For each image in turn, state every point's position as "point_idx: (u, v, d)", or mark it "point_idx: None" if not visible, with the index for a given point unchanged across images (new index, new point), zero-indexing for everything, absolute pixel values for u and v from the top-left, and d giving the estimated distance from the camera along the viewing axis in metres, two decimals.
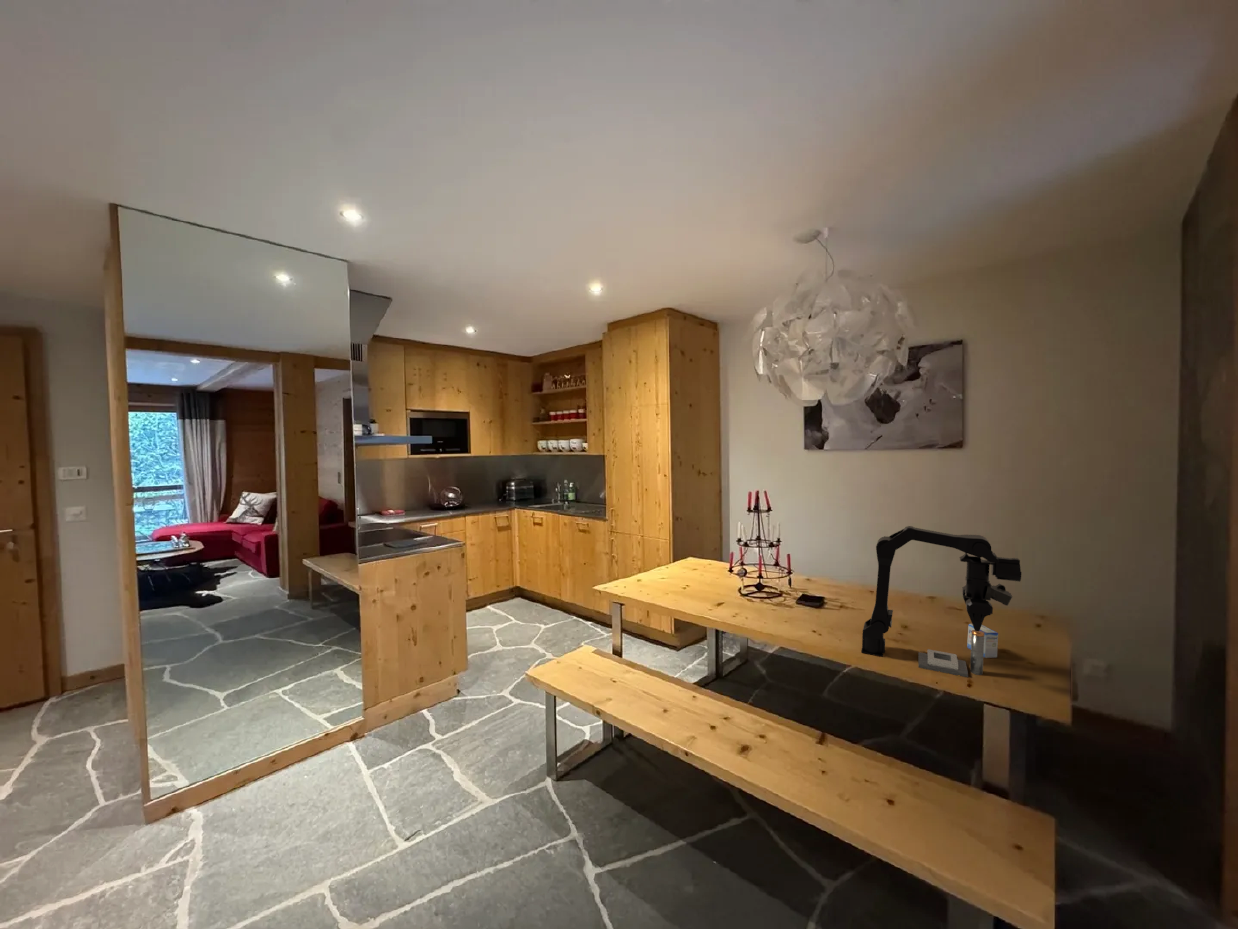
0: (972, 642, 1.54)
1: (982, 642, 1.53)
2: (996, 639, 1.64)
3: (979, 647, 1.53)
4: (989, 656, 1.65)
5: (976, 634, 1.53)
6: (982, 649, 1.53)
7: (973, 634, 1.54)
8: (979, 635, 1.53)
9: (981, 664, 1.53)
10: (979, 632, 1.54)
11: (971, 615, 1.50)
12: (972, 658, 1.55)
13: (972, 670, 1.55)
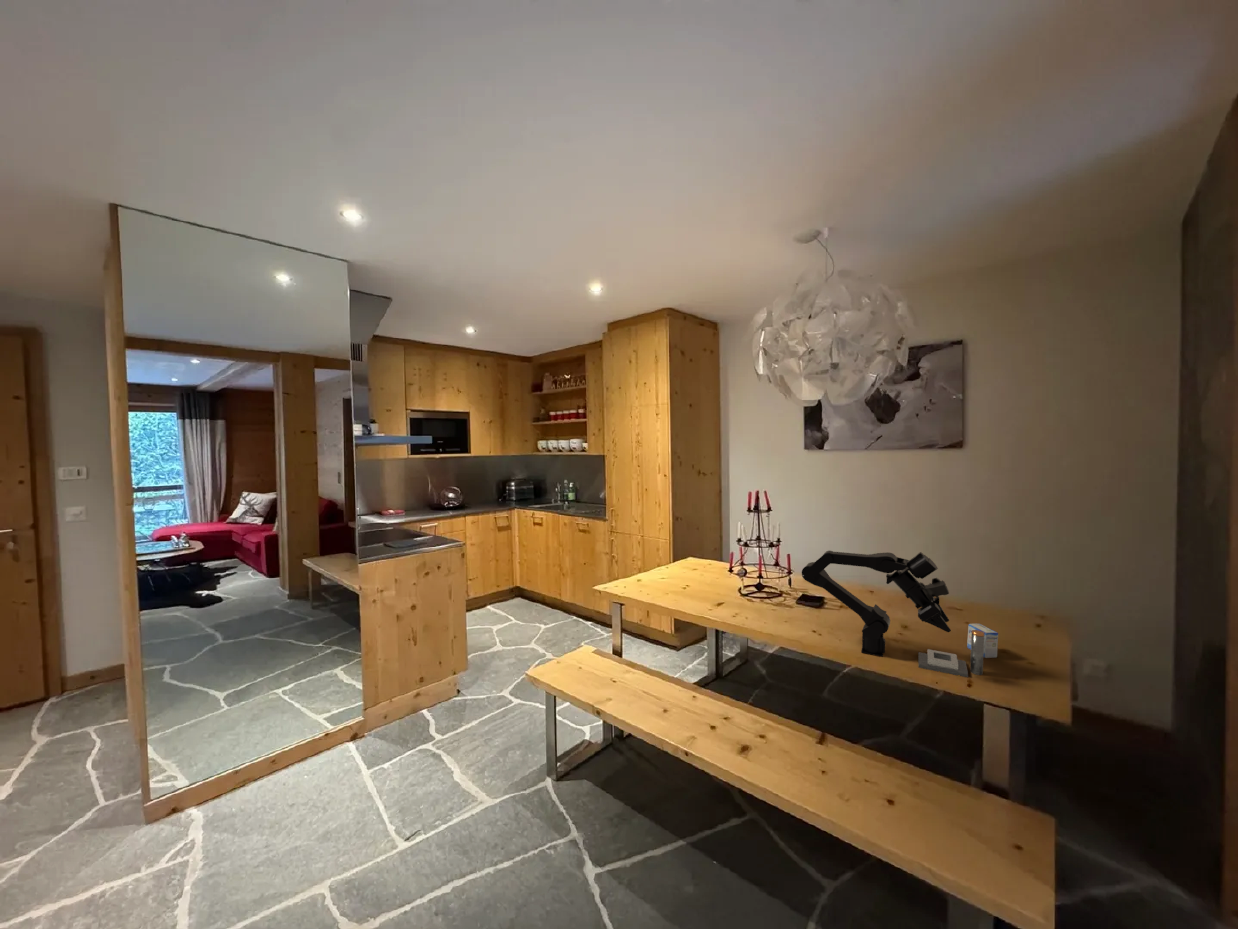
0: (972, 642, 1.54)
1: (982, 642, 1.53)
2: (996, 639, 1.64)
3: (979, 647, 1.53)
4: (989, 656, 1.65)
5: (976, 634, 1.53)
6: (982, 649, 1.53)
7: (973, 634, 1.54)
8: (979, 635, 1.53)
9: (981, 664, 1.53)
10: (979, 632, 1.54)
11: (931, 622, 1.55)
12: (972, 658, 1.55)
13: (972, 670, 1.55)
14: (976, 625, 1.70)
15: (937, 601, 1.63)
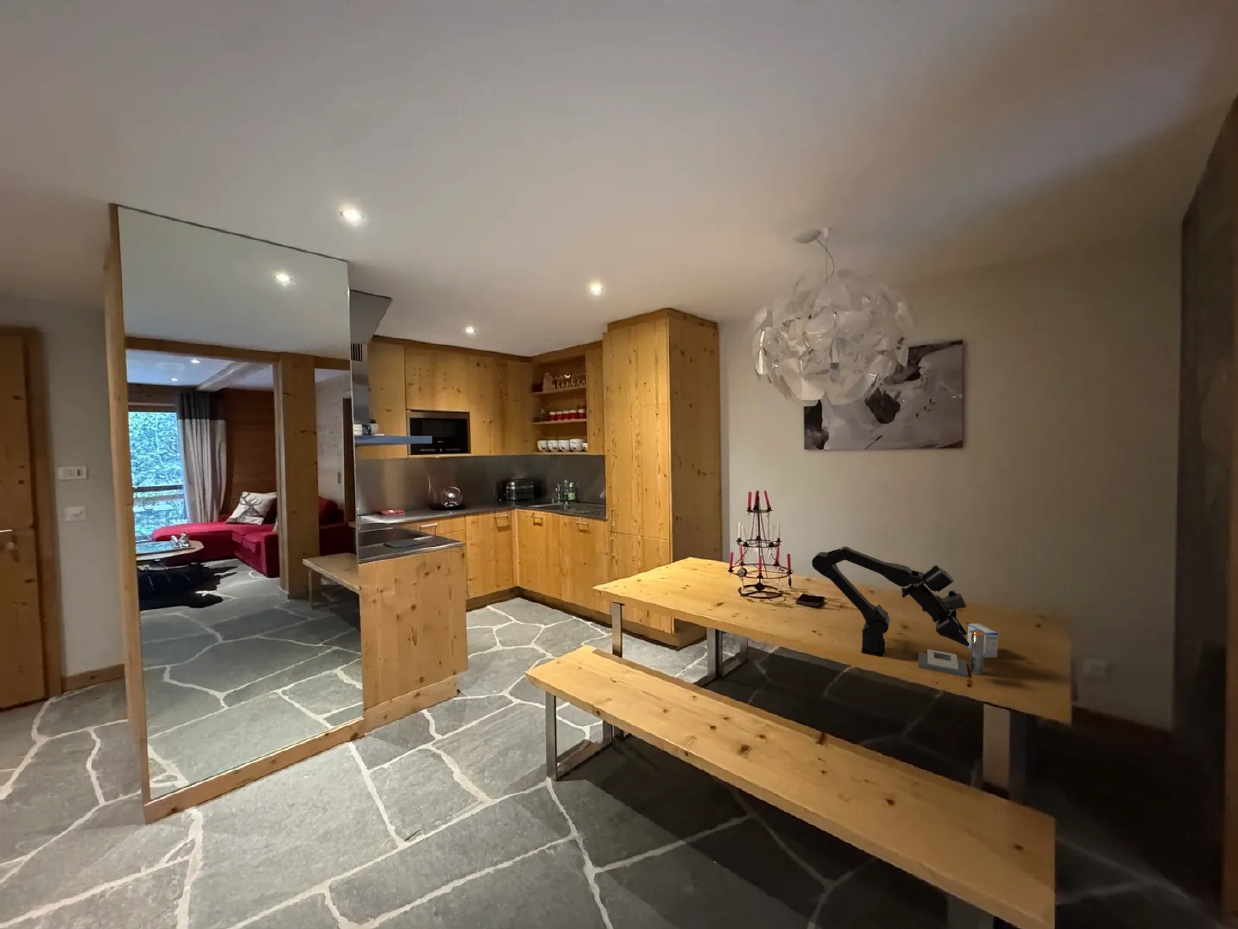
0: (972, 642, 1.54)
1: (982, 642, 1.53)
2: (996, 639, 1.64)
3: (978, 647, 1.53)
4: (989, 656, 1.65)
5: (976, 634, 1.53)
6: (982, 649, 1.53)
7: (973, 634, 1.54)
8: (979, 635, 1.53)
9: (981, 664, 1.53)
10: (979, 632, 1.54)
11: (950, 636, 1.53)
12: (972, 658, 1.55)
13: (972, 670, 1.55)
14: (976, 625, 1.70)
15: (954, 614, 1.61)
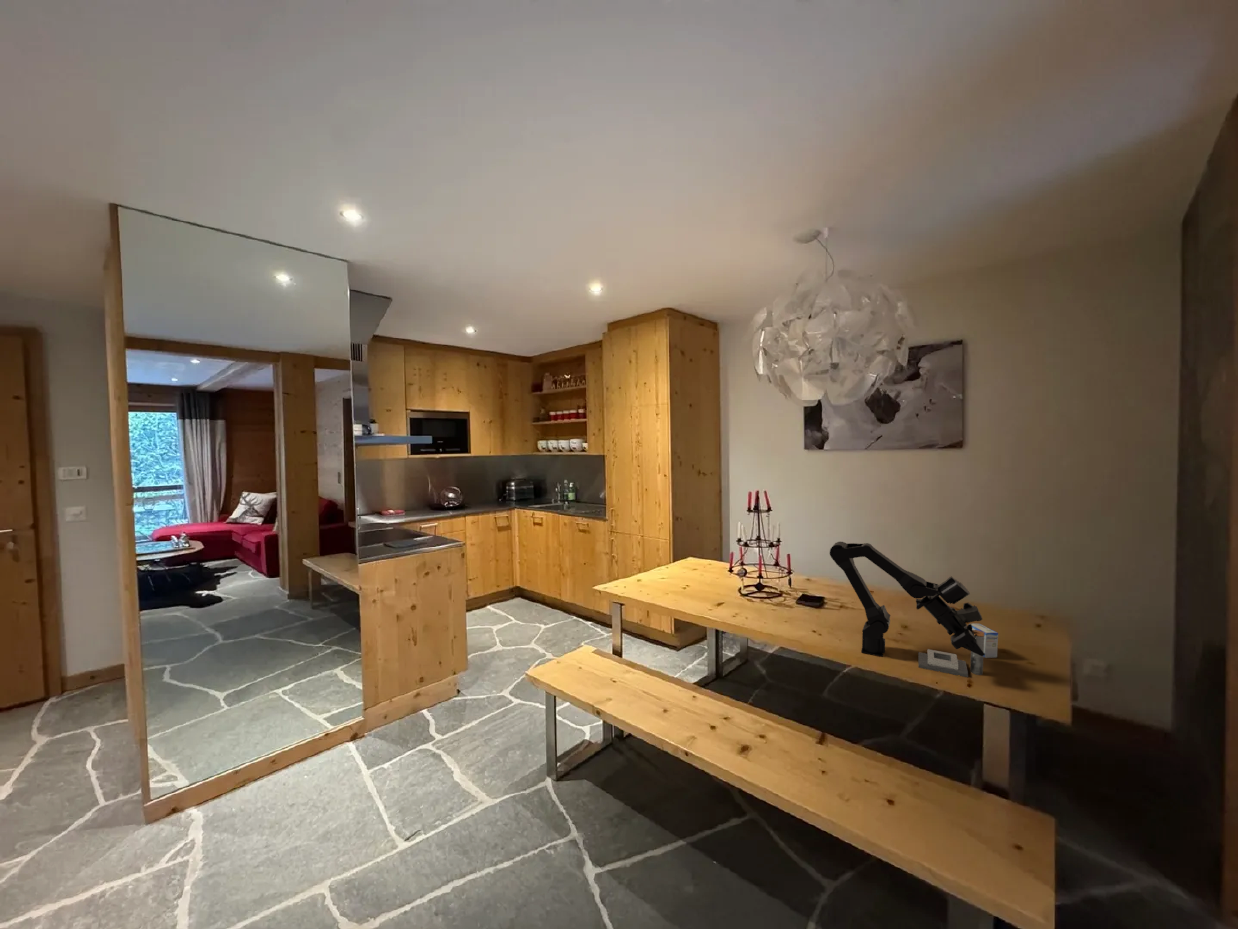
0: None
1: (982, 642, 1.53)
2: (996, 639, 1.64)
3: None
4: (989, 656, 1.65)
5: (976, 634, 1.53)
6: (982, 649, 1.53)
7: None
8: (979, 635, 1.53)
9: (981, 664, 1.53)
10: (979, 632, 1.54)
11: (965, 646, 1.53)
12: (972, 658, 1.55)
13: (972, 670, 1.55)
14: (976, 625, 1.70)
15: (970, 629, 1.57)
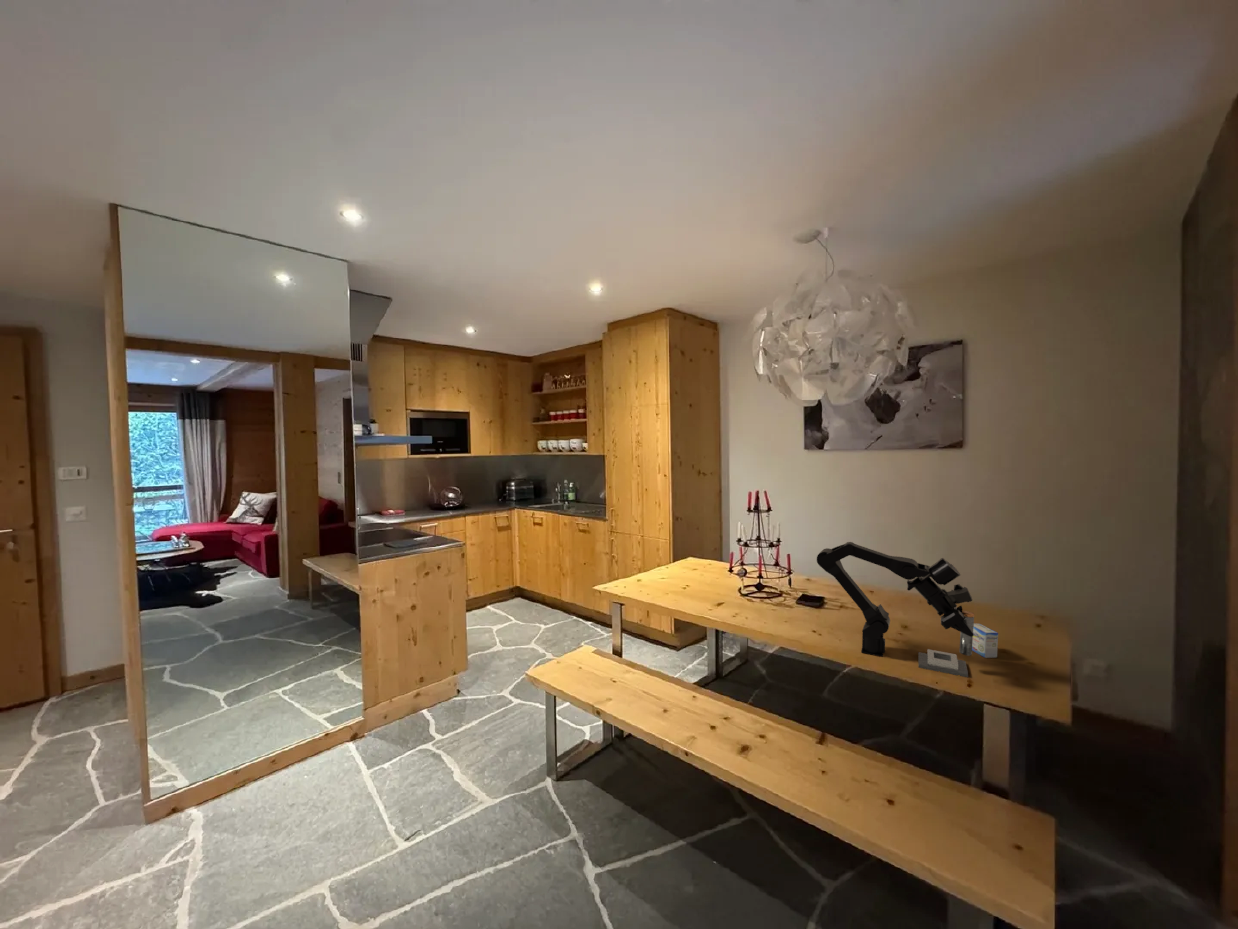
0: None
1: (972, 623, 1.54)
2: (996, 639, 1.64)
3: None
4: (989, 656, 1.65)
5: (966, 615, 1.54)
6: (972, 630, 1.54)
7: None
8: (969, 616, 1.54)
9: (970, 645, 1.54)
10: (969, 613, 1.55)
11: (954, 626, 1.54)
12: (961, 639, 1.56)
13: (961, 651, 1.56)
14: (976, 625, 1.70)
15: (960, 611, 1.58)
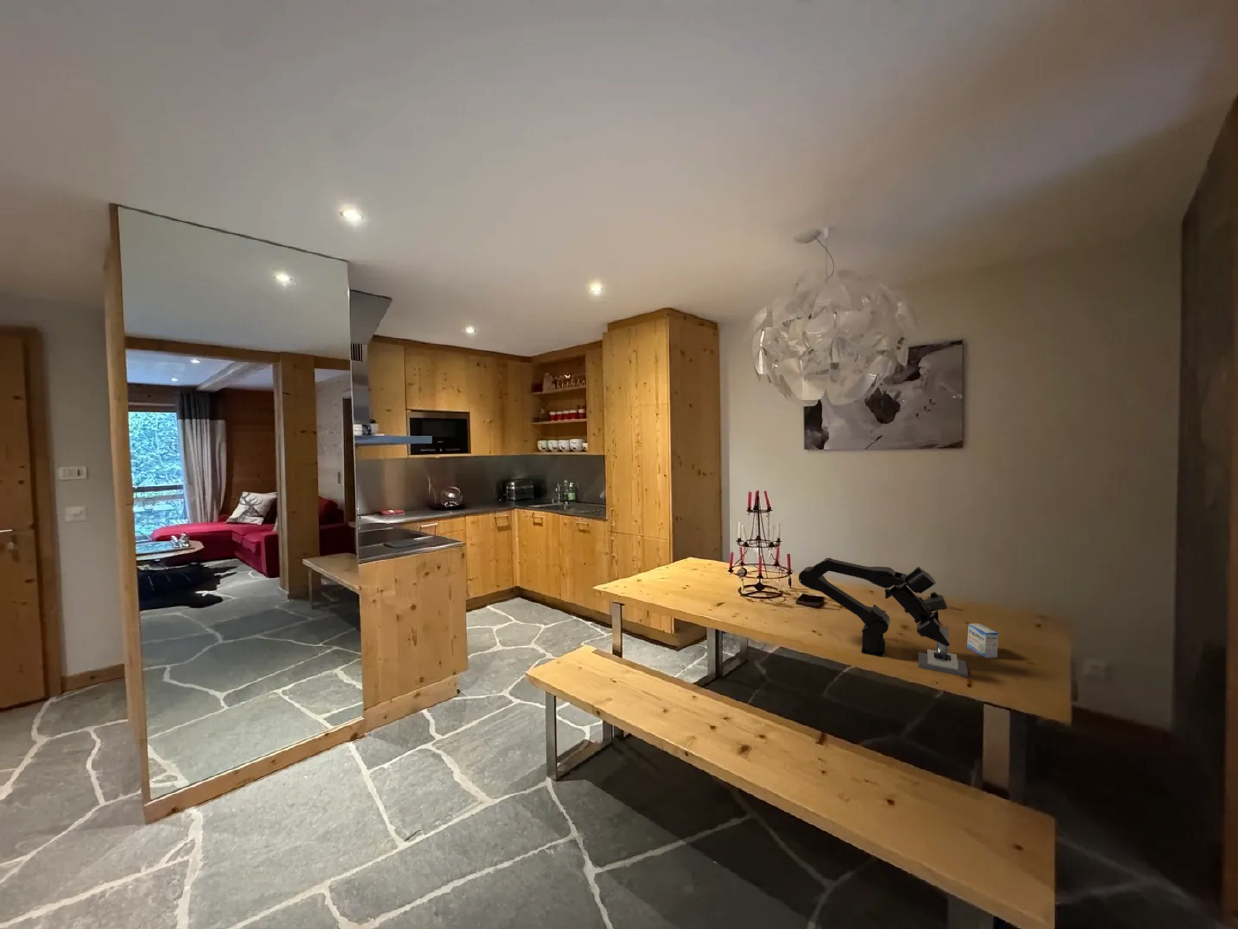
0: None
1: (946, 633, 1.57)
2: (996, 639, 1.64)
3: None
4: (989, 656, 1.65)
5: (940, 625, 1.58)
6: None
7: None
8: (943, 626, 1.57)
9: (946, 654, 1.58)
10: (943, 623, 1.58)
11: (931, 636, 1.56)
12: (937, 648, 1.59)
13: None
14: (976, 625, 1.70)
15: (936, 616, 1.63)
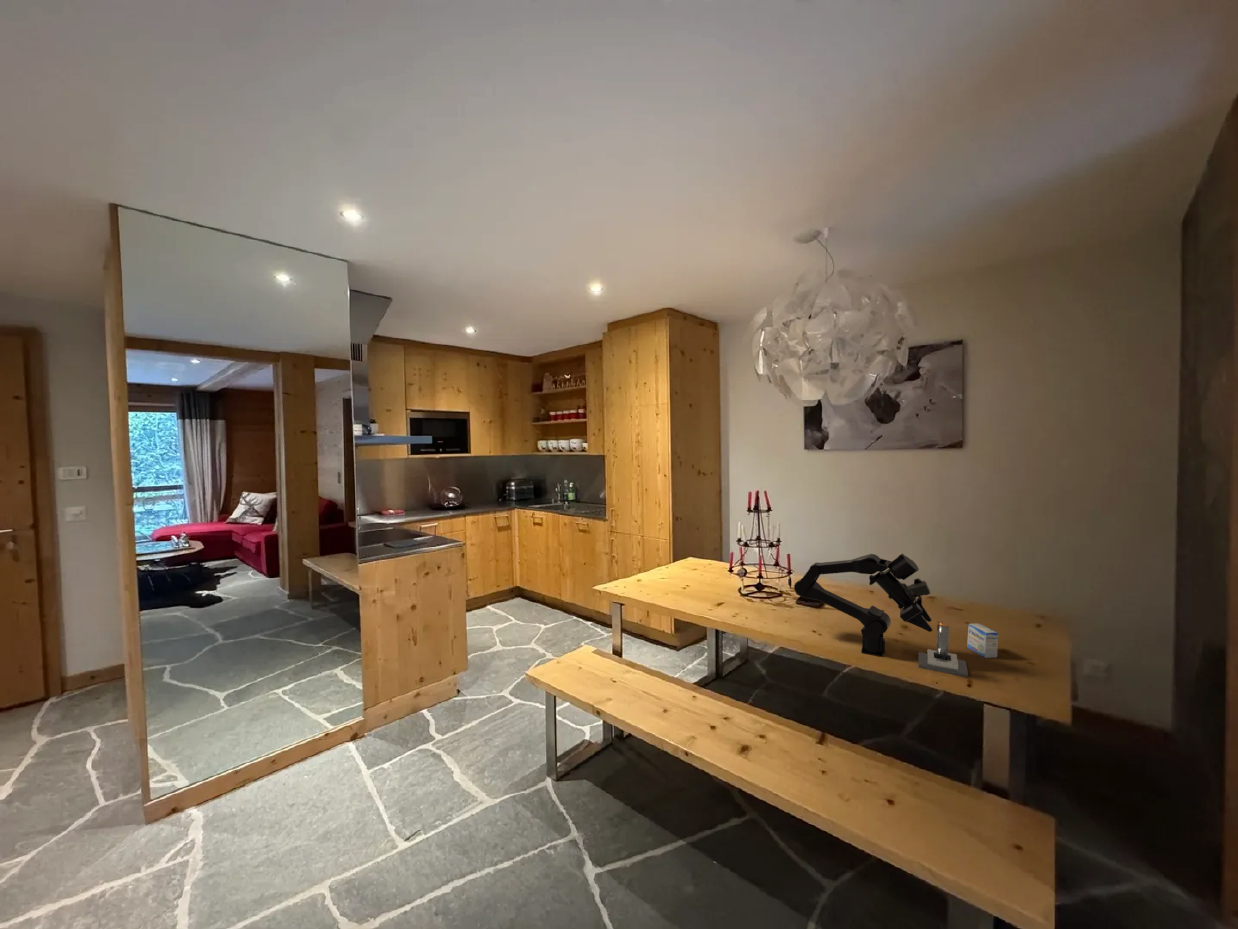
0: (938, 633, 1.59)
1: (947, 632, 1.58)
2: (996, 639, 1.64)
3: (944, 637, 1.58)
4: (989, 656, 1.65)
5: (941, 625, 1.58)
6: (947, 639, 1.58)
7: (938, 625, 1.59)
8: (944, 626, 1.57)
9: (946, 654, 1.58)
10: (944, 623, 1.59)
11: (913, 622, 1.57)
12: (938, 648, 1.59)
13: None
14: (976, 625, 1.70)
15: (919, 601, 1.66)
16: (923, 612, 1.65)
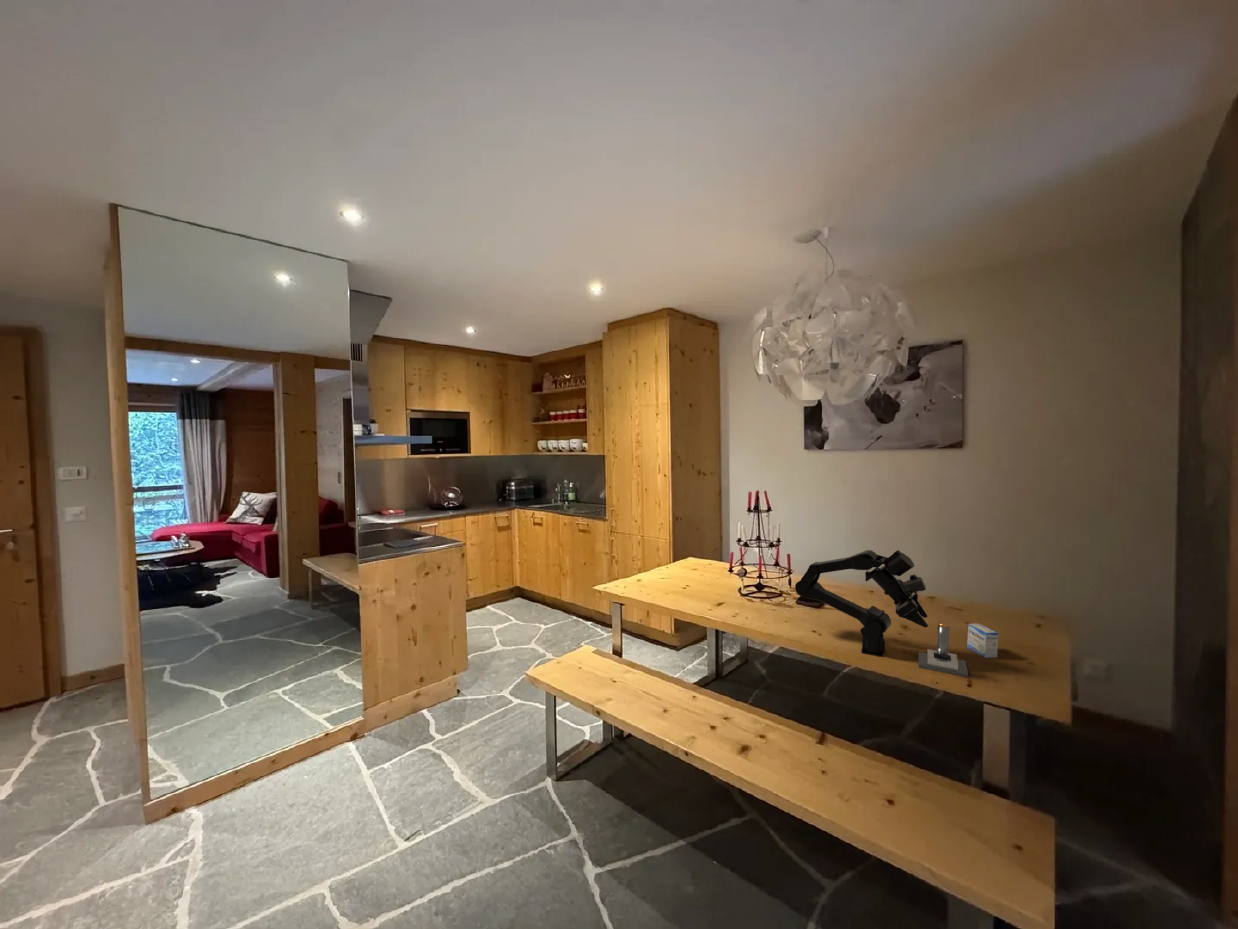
0: (938, 633, 1.59)
1: (947, 633, 1.57)
2: (996, 639, 1.64)
3: (944, 638, 1.57)
4: (989, 656, 1.65)
5: (942, 625, 1.58)
6: (947, 640, 1.58)
7: (939, 625, 1.58)
8: (944, 626, 1.57)
9: (946, 654, 1.58)
10: (945, 623, 1.58)
11: (909, 618, 1.58)
12: (938, 648, 1.59)
13: None
14: (976, 625, 1.70)
15: (915, 597, 1.67)
16: (919, 608, 1.66)
